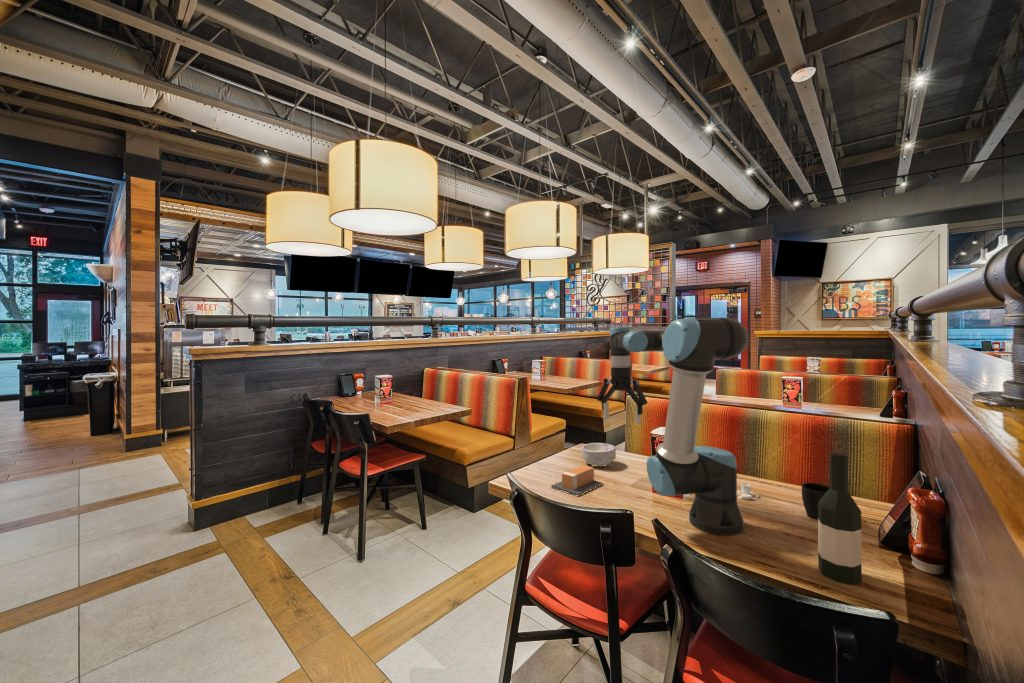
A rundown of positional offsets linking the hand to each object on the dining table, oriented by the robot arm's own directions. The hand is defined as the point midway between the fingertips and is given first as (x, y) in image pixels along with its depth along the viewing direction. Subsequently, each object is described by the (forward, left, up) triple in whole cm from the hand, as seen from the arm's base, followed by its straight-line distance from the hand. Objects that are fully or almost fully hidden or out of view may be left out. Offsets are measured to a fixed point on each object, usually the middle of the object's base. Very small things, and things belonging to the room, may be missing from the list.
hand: (621, 421), depth 164 cm
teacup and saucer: (-36, -18, -26) cm, 48 cm away
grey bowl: (+21, -15, -25) cm, 36 cm away
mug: (-62, -16, -25) cm, 68 cm away
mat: (+12, +14, -25) cm, 31 cm away
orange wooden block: (+12, +5, -22) cm, 25 cm away
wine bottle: (-70, +18, -25) cm, 76 cm away
